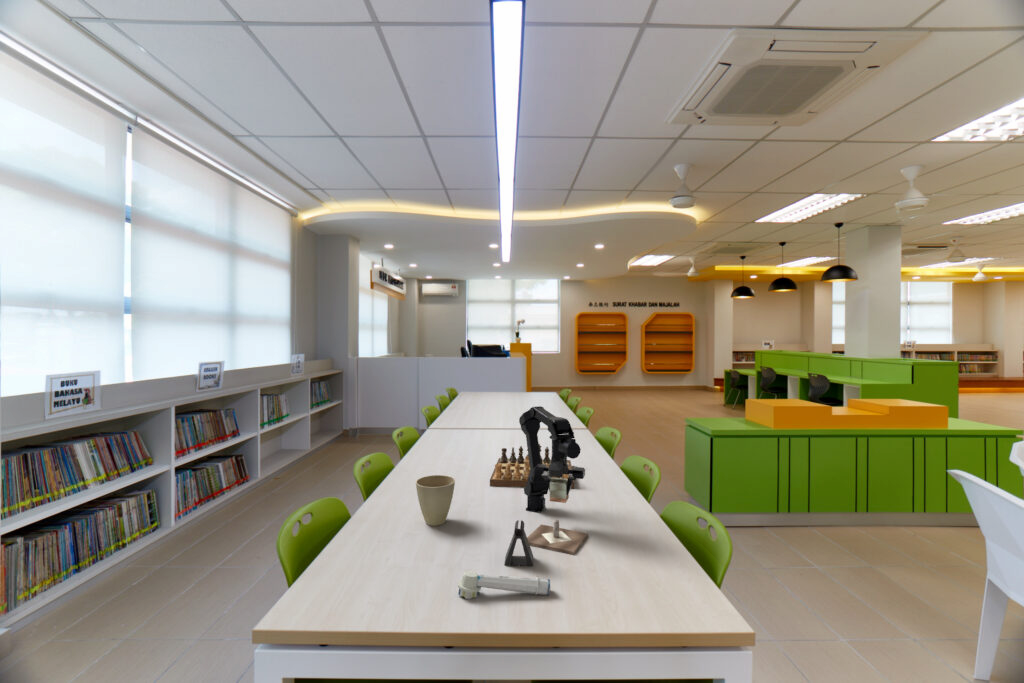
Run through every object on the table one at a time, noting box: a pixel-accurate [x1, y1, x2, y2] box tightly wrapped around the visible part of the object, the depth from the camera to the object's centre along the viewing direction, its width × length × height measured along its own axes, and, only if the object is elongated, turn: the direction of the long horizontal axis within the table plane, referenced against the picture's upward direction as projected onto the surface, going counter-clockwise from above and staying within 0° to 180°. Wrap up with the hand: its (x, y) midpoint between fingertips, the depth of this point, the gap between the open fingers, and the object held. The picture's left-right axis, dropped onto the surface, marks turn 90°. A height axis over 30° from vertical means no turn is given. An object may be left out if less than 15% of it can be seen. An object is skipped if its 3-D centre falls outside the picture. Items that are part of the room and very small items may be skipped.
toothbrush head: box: [457, 570, 551, 600], centre depth 127 cm, size 5×7×25 cm
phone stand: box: [504, 519, 535, 567], centre depth 146 cm, size 9×6×12 cm, turn 86°
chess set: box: [489, 443, 575, 490], centre depth 239 cm, size 40×40×15 cm
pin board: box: [527, 519, 589, 556], centre depth 162 cm, size 18×16×7 cm
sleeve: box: [549, 478, 570, 504], centre depth 173 cm, size 6×6×7 cm
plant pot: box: [415, 474, 456, 527], centre depth 177 cm, size 15×15×16 cm
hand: (559, 494), depth 173 cm, fingers closed on sleeve, 6 cm apart
